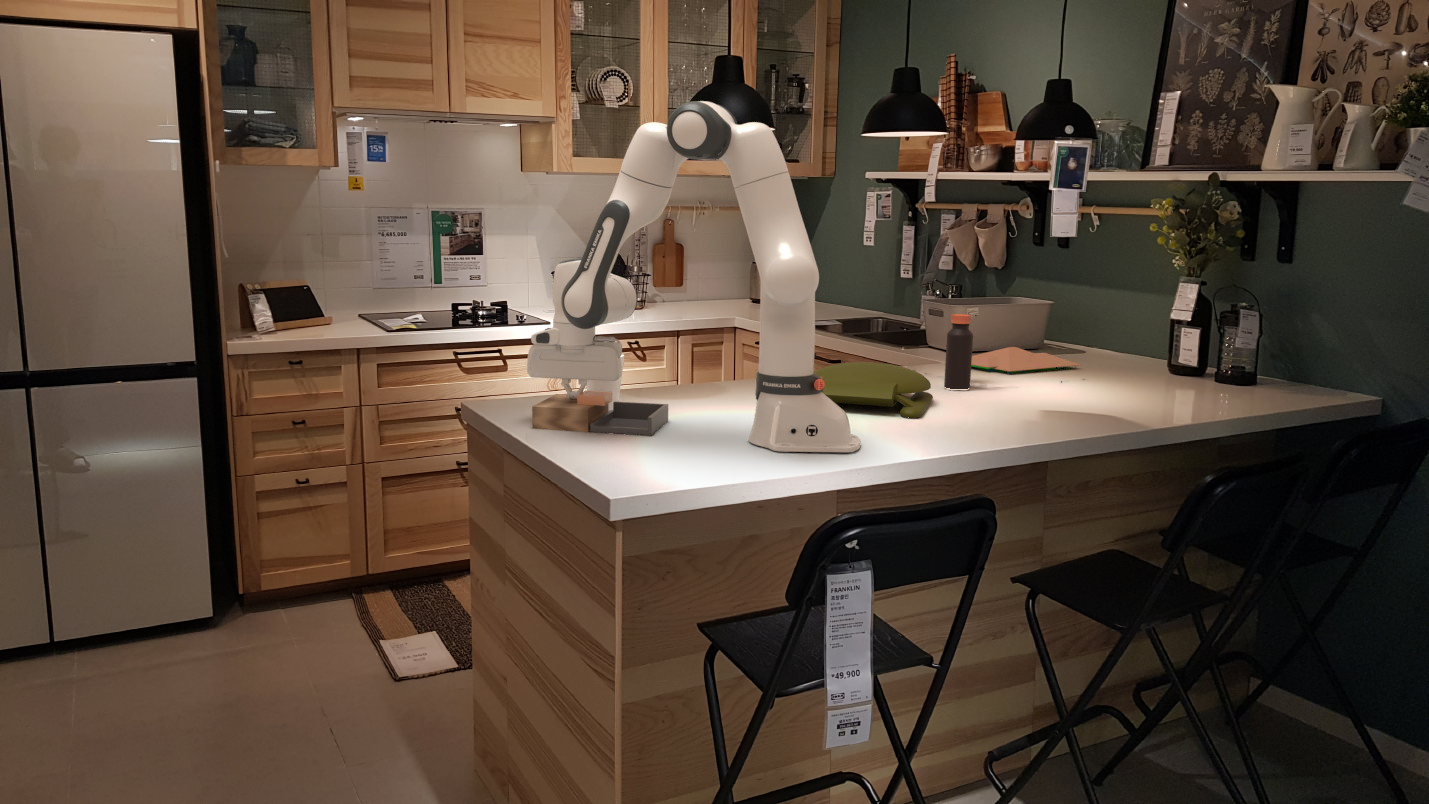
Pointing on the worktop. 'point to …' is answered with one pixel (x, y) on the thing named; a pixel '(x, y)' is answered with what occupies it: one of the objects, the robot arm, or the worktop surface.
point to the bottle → (959, 353)
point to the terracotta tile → (594, 398)
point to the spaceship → (876, 386)
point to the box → (632, 419)
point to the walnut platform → (565, 414)
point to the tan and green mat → (1018, 360)
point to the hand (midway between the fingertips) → (574, 399)
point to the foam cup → (607, 386)
